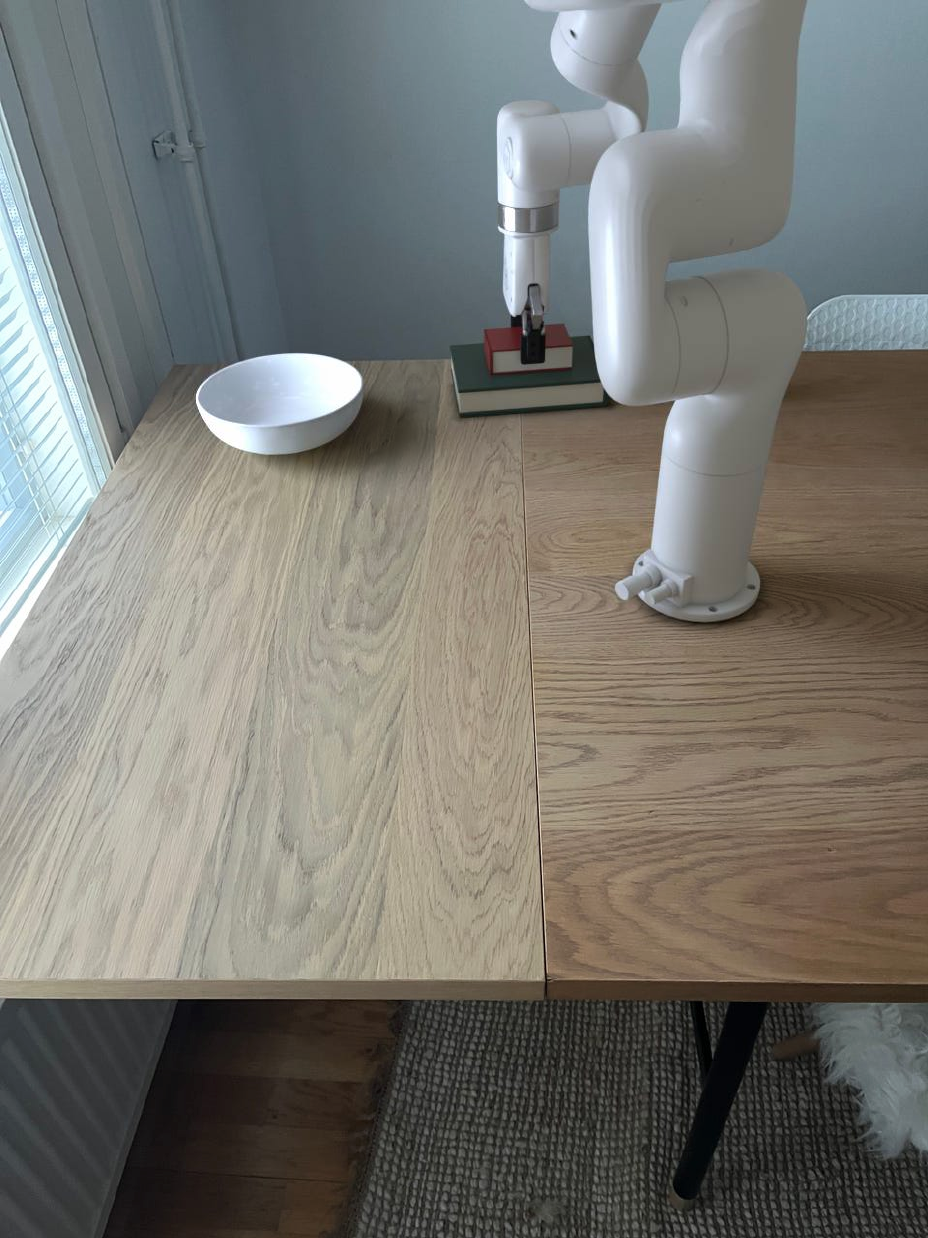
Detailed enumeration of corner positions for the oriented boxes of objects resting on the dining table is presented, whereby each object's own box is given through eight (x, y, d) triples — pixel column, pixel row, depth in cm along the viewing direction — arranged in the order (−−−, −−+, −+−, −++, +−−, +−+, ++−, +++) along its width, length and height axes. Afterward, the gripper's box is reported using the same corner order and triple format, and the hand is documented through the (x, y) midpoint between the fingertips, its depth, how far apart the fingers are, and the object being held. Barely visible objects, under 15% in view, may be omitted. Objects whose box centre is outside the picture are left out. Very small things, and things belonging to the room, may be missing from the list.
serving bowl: (389, 453, 119) (384, 403, 114) (223, 491, 113) (211, 440, 109) (343, 386, 134) (337, 339, 130) (195, 416, 128) (183, 369, 124)
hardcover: (588, 361, 137) (589, 335, 135) (608, 406, 127) (610, 378, 124) (451, 371, 136) (449, 345, 134) (459, 417, 126) (458, 389, 123)
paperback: (490, 375, 126) (489, 350, 124) (484, 353, 131) (483, 328, 129) (572, 369, 126) (573, 344, 124) (563, 347, 132) (563, 323, 130)
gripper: (490, 196, 123) (492, 324, 134) (506, 240, 110) (507, 377, 121) (547, 193, 123) (545, 320, 134) (570, 235, 110) (566, 373, 121)
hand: (527, 347), depth 128 cm, fingers open, 9 cm apart
